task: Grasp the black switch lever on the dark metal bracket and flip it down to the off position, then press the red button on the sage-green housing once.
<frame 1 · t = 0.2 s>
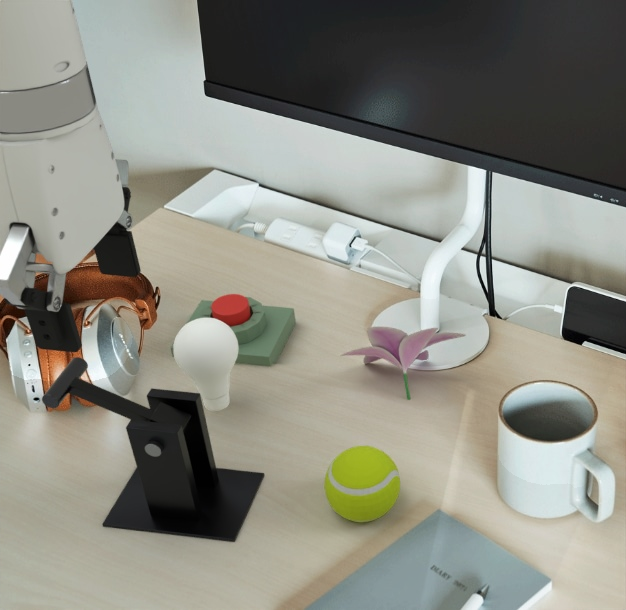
hand: (92, 309, 70), 23 cm above the table, tool pointing down, fingers open, 9 cm apart
tennis ball: (364, 511, 84), on the table
switch bracket: (187, 506, 84), on the table
lily: (404, 384, 99), on the table
switch lever: (120, 405, 77), point 12 cm above the table, hinge at 25.0°
button box: (236, 342, 104), on the table
button: (231, 310, 101), point 4 cm above the table, slide at 0.1 cm
lightbulb: (218, 411, 95), on the table
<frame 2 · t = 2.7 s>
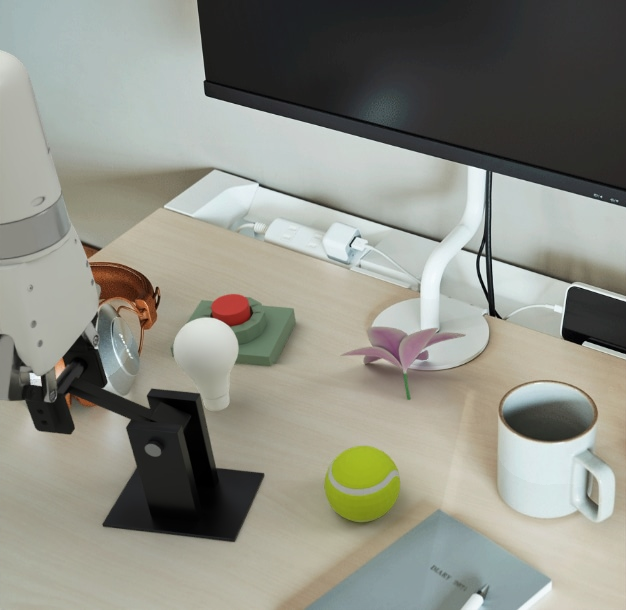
hand: (72, 405, 78), 11 cm above the table, tool pointing down, fingers closed on switch lever, 5 cm apart
switch lever: (120, 405, 77), point 12 cm above the table, hinge at 25.0°, touching gripper
everything else where it was.
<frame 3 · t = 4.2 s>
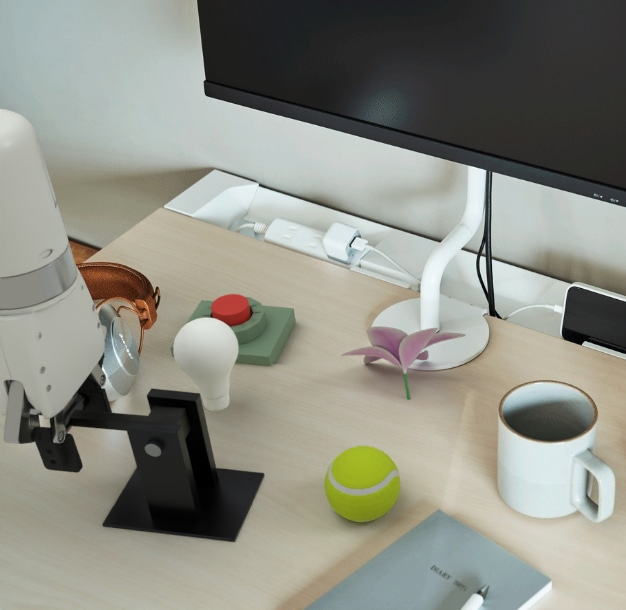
hand: (80, 443, 81), 7 cm above the table, tool pointing down, fingers closed on switch lever, 5 cm apart
switch lever: (121, 421, 79), point 10 cm above the table, hinge at -1.7°, touching gripper
everything else where it was.
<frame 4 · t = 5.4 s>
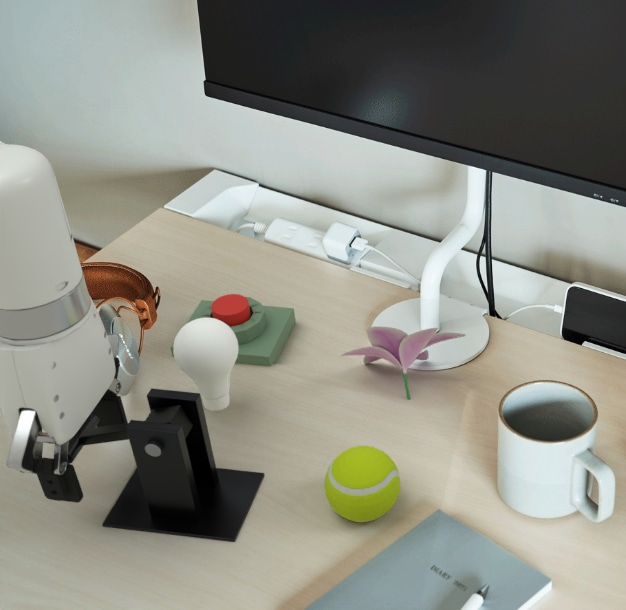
hand: (89, 461, 82), 5 cm above the table, tool pointing down, fingers open, 8 cm apart
switch lever: (125, 431, 79), point 9 cm above the table, hinge at -16.9°
everything else where it was.
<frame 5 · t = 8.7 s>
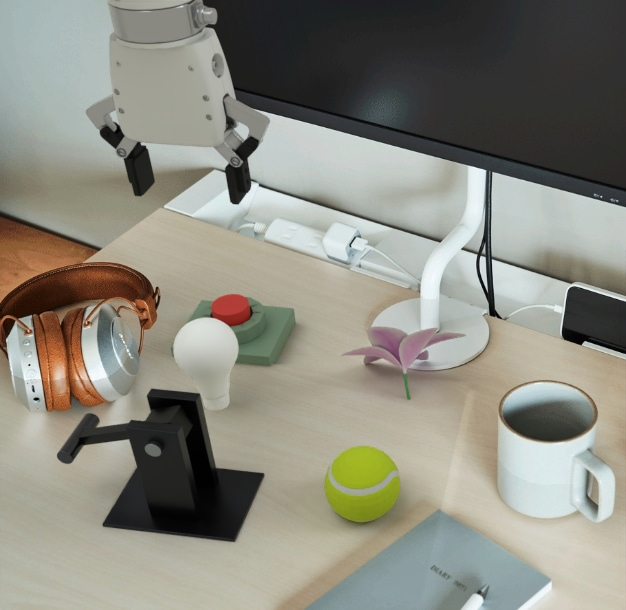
hand: (192, 193, 89), 21 cm above the table, tool pointing down, fingers open, 9 cm apart
nothing on the table moved.
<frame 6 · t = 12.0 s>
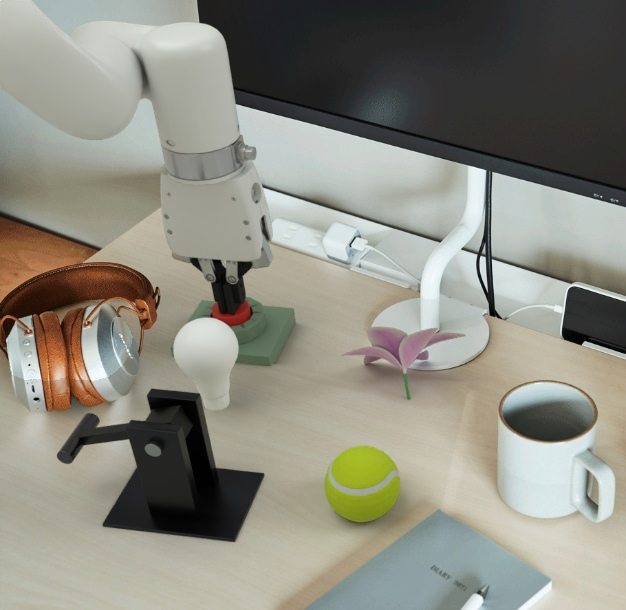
hand: (231, 306, 101), 5 cm above the table, tool pointing down, fingers closed
button: (231, 313, 101), point 4 cm above the table, slide at -0.3 cm, touching gripper
everything else where it was.
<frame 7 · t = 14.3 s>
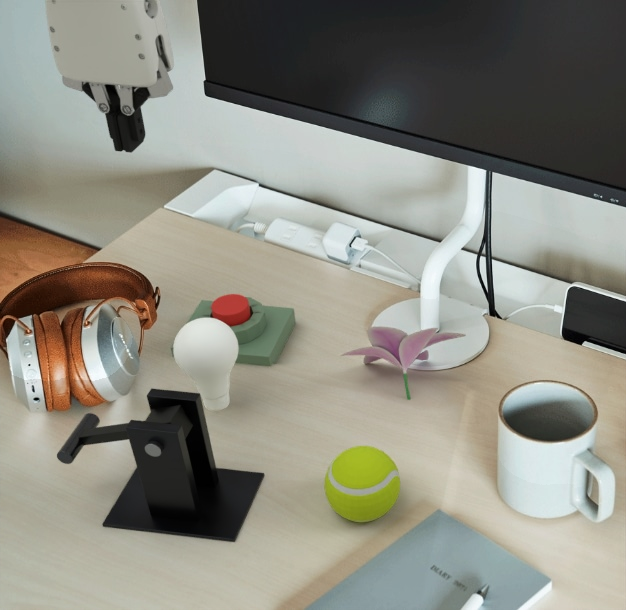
hand: (130, 145, 93), 23 cm above the table, tool pointing down, fingers closed
button: (231, 310, 101), point 4 cm above the table, slide at 0.1 cm
everything else where it was.
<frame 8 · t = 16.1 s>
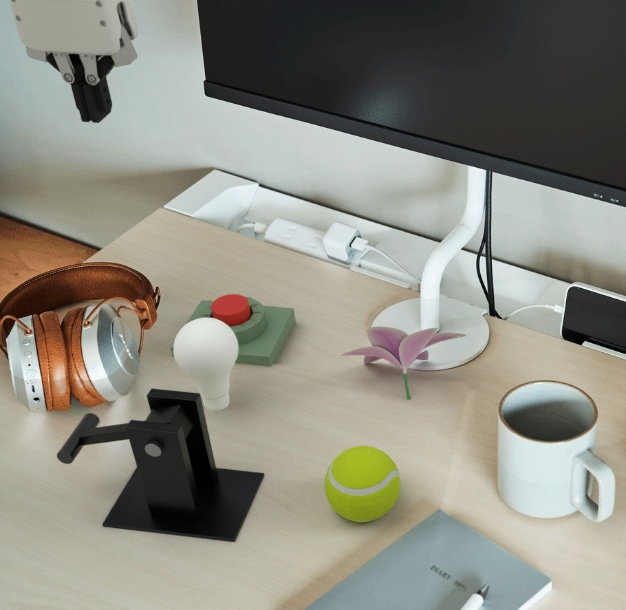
hand: (97, 116, 93), 25 cm above the table, tool pointing down, fingers closed
nothing on the table moved.
at the end: switch lever at -17° (first picture: +25°); button pushed in 1.1 cm at the most during the clip, back to where it started at the end; button slide at 0.1 cm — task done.
